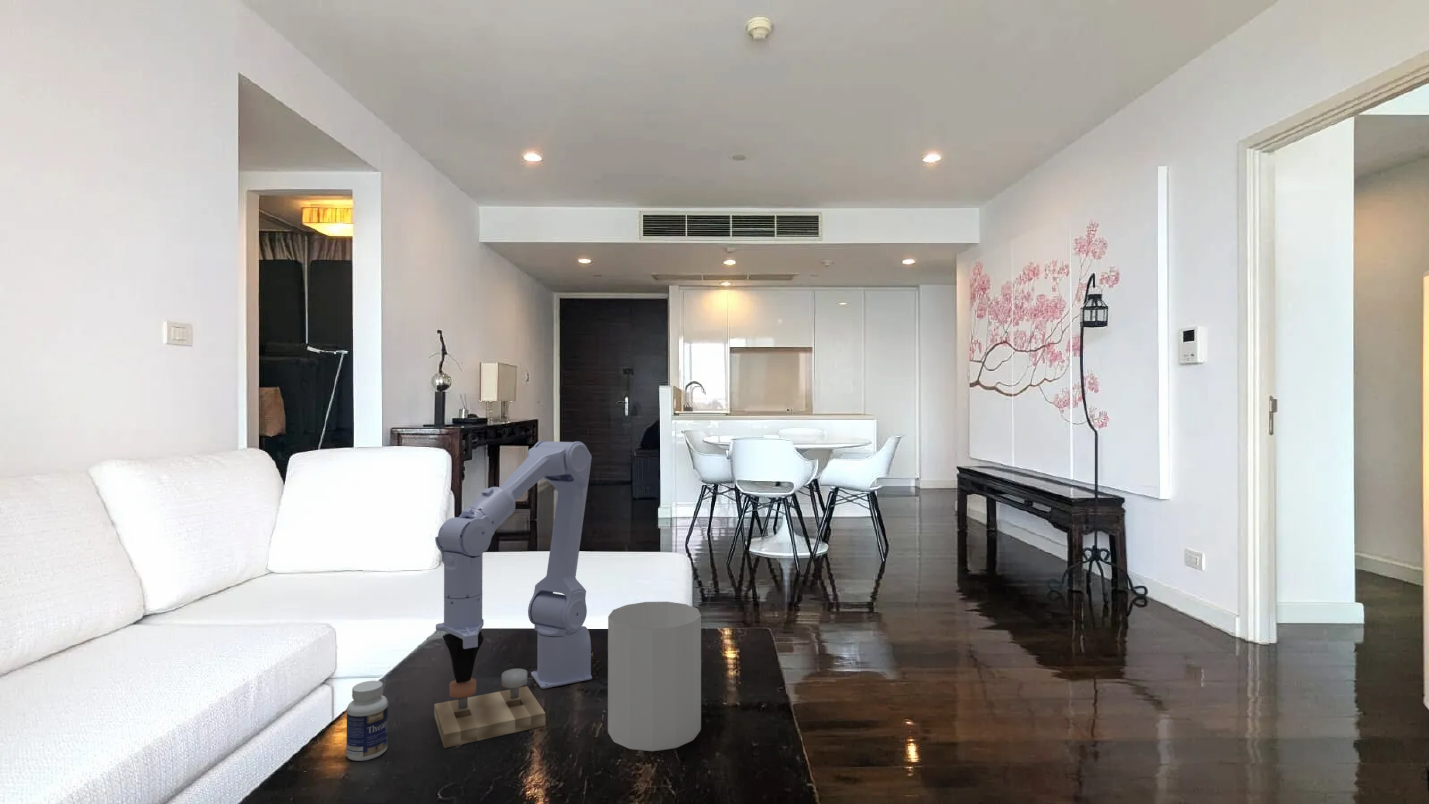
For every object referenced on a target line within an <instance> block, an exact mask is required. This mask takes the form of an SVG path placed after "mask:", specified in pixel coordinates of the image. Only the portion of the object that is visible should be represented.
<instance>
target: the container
mask: <svg viewBox="0 0 1429 804" xmlns="http://www.w3.org/2000/svg"><path fill="white" fill-rule="evenodd" d="M607 622H608V623H607V733H608V734H609V736H610V738H611V740H612V741H613V743H614V744H615V743H616V744H618V745H620V746H623V747H624V748H627V749H629V750H636V751H648V752H655V751H664V750H670V749H671V750H672V749H677V748H679V747H681V746H684V745H685V744H688V743H690V742H692V741H694V740H695V738H696V737H697V736H698V735H699V733H700V732H701V730H702V615H701V612H700V610H699V609H698V608H696V607H695V606H692V605H689V604H686V603H680V602H674V601H673V602H672V601H642V602H636V603H630V604H625V605H622V606H619V607H618V608H614V609H612V611H611V612H610V613H609V614H608V617H607Z"/></svg>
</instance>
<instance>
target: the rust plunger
mask: <svg viewBox="0 0 1429 804" xmlns="http://www.w3.org/2000/svg"><path fill="white" fill-rule="evenodd" d="M448 686H449V689H448V690H449V696H450V698H454V699H457V700H458V709H466V708H467V707H468V697H472V696H474V695H475V694H476V693H477V679H476V678H473V677H471V680H470V681H466V682H460V683H457V682H456V680H455V679H454V680H452V681H450V683H449V685H448Z"/></svg>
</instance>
